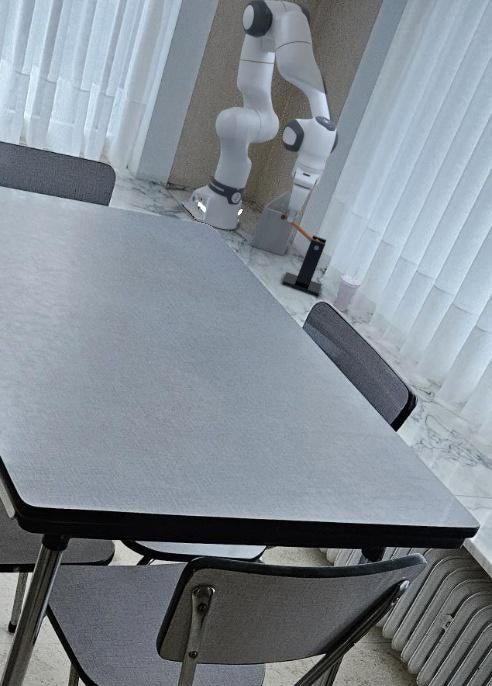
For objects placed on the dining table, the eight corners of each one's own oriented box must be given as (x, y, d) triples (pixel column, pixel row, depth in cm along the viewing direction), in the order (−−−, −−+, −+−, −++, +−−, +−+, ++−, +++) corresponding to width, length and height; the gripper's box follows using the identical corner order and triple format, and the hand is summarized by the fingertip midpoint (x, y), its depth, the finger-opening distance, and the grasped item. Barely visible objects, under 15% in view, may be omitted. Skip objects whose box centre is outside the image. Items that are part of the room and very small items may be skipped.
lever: (278, 218, 309) (283, 212, 308) (280, 214, 314) (285, 208, 312) (317, 253, 312) (322, 247, 311) (318, 248, 316) (323, 242, 315)
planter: (264, 255, 335) (284, 199, 324) (250, 244, 340) (269, 189, 329) (299, 255, 345) (319, 201, 334) (285, 245, 349) (304, 191, 338)
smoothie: (349, 315, 312) (366, 274, 304) (329, 308, 312) (346, 267, 304) (349, 307, 317) (366, 267, 309) (330, 301, 317) (346, 260, 309)
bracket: (282, 284, 318) (299, 237, 309) (285, 275, 325) (302, 229, 316) (317, 296, 317) (336, 250, 308) (320, 287, 325) (338, 241, 316)
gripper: (300, 162, 312) (285, 204, 320) (293, 178, 295) (277, 222, 303) (319, 169, 312) (303, 211, 320) (313, 185, 295) (297, 229, 303)
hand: (291, 217), depth 311 cm, fingers open, 8 cm apart
